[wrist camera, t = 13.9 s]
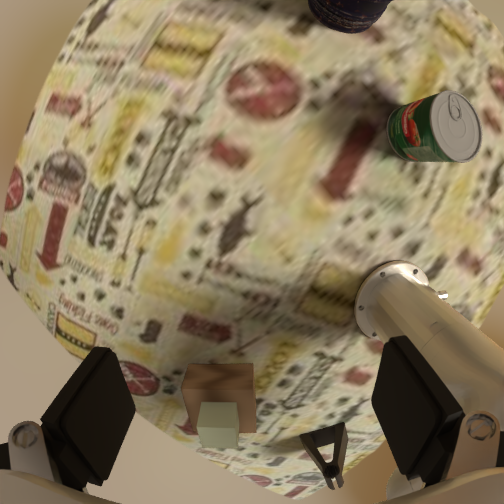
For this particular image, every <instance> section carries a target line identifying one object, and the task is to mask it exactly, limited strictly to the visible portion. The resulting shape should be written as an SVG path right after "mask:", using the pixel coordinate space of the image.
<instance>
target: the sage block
mask: <svg viewBox="0 0 504 504" xmlns="http://www.w3.org/2000/svg"><path fill="white" fill-rule="evenodd" d="M197 430H198V434H199V437H200V440H201V444H202V447H204V448H238V439H239V418H238V410H237V402H201V407H200V412H199V417H198V422H197Z"/></svg>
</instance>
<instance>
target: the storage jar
mask: <svg viewBox="0 0 504 504" xmlns="http://www.w3.org/2000/svg"><path fill="white" fill-rule="evenodd" d="M391 1H393V0H308V4H309V8H310V10H311V12H312V13H313V15H314V16H315V17H316V18H317V19H318V20H319V21H320V22H321V23H323V24H324V25H326V26H328V27H329V28H331V29H334V30H336V31H339V32H343V33H351V34H352V33H361V32H363V31H365V30H367V29H368V28H369V27H370V26H371V25H372V24H373V23H375V22H376V21H377V20H378V19H379V18H380V17H381V15H382V13H383V12H384V11H385V9H386V8H387V5H388V4H389V3H390V2H391Z"/></svg>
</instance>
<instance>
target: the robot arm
mask: <svg viewBox="0 0 504 504" xmlns="http://www.w3.org/2000/svg"><path fill="white" fill-rule="evenodd" d="M380 273H381V274H380ZM445 299H447V292H446V291H445V290H444V291H438V292H436V291H435V290H433V289H432V288H431V287H429V282H428V279H427V277H426V275H425V273H424V272H423V271H422V270H421V269H420V268H419V267H418V266H416V265H415V264H413V263H410V262H407V261H393V262H389V263H386V264H384V265H382V266H380V267H379V268H377V269H376V270H374V271H373V272H372V273H371V274H370V275H369V276H368V277H367V278H366V279H365V281H364V282H363V284H362V285H361V287H360V289H359V291H358V293H357V296H356V299H355V305H354V315H355V319H356V322H357V324H358V326H359V327H360V329H361V330H362V332H363V333H364V334H366V335H367V336H368V337H370V338H372V339H376V340H381V341H382V343H383V344H384V348H383V352H382V357H381V362H380V366H379V370H378V375H377V379H376V383H375V387H374V391H373V394H372V399H371V401H372V407H373V409H374V411H375V414H376V416H377V418H378V420H379V423H380V425H381V427H382V430H383V432H384V435H385V437H386V439H387V441H388V444H389V447H390V449H391V451H392V454H393V456H394V459H395V461H396V463H397V466H398V467H397V468H396V469H395V471H394V472H393V473H392V475H391V477H390V478H389V480H388V484H387V488H386V495H387V500H386V501H382V502H379V503H375V504H504V349H502V348H501V347H500V346H498V345H497V344H496V343H495V342H493V341H492V340H491V339H490V338H488V337H487V336H486V335H485V334H483V333H482V332H481V331H480V330H479V329H478V328H477V327H475V326H474V325H473V324H472V323H470V322H469V321H468V320H467V319H466V318H465V317H463V316H462V315H461V314H460V313H459V312H457V311H456V310H455V309H454V308H453V307H451V306H450V304H449V303H446V302H445V301H444V300H445ZM134 414H135V404H134V401H133V399H132V396H131V394H130V391H129V389H128V386H127V384H126V381H125V378H124V376H123V373H122V370H121V367H120V364H119V362H118V359H117V356H116V354H115V353H114V352H112V350H111V349H110V348H107V347H94V348H93V349H92V350H91V352H90V353H89V354H88V355H87V357H86V358H85V359H84V360H83V362H82V363H81V364H80V366H79V367H78V368H77V370H76V371H75V372H74V374H73V375H72V376H71V378H70V379H69V380H68V381H67V383H66V384H65V385H64V387H63V388H62V390H61V391H60V392H59V394H58V395H57V396H56V398H55V399H54V400H53V402H52V403H51V405H50V406H49V407H48V409H47V410H46V412H45V413H44V414H43V416H42V418H41V419H40V420H41V421H42V425H41V426H39V425H38V424H37V423H35V422H33V421H24V422H21V423H18V424H17V425H15V426H14V427H13V428H12V430H11V431H10V433H9V437H8V443H4V444H0V504H120V503H116V502H112V501H109V500H106V499H102V498H99V497H96V496H92V495H89V493H88V491H87V488H86V484H87V482H89V483H91V484H95V485H98V486H102V484H103V481H104V480H107V479H108V477H109V475H110V472H111V470H112V467H113V465H114V462H115V460H116V458H117V455H118V453H119V450H120V447H121V445H122V443H123V440H124V438H125V435H126V433H127V431H128V428H129V426H130V423H131V421H132V419H133V417H134Z"/></svg>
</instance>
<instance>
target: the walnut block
mask: <svg viewBox="0 0 504 504" xmlns="http://www.w3.org/2000/svg"><path fill="white" fill-rule="evenodd" d="M181 391H182V394H183V398H184V402H185V405H186V409H187V412H188V415H189V419H190V422H191V425H192V429H193V432H198V430H197V422H198V417H199V412H200V407H201V402H237V410H238V418H239V433H256V398H255V383H254V368H253V363H252V364H189V365H188V368H187V371H186V374H185V378H184V381H183V384H182V387H181Z"/></svg>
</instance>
